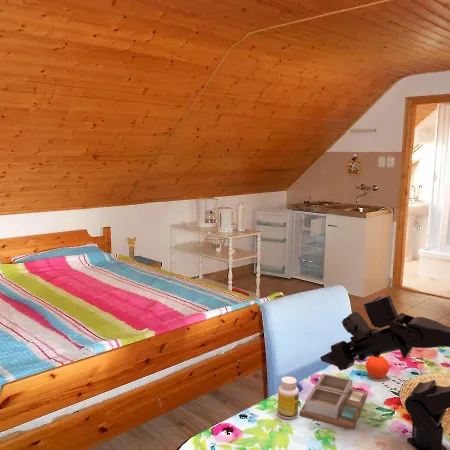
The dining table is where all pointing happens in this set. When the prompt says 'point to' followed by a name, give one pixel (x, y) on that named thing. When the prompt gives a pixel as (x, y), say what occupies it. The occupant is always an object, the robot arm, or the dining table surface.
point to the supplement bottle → (288, 398)
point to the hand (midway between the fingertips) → (330, 354)
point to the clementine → (377, 366)
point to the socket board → (348, 412)
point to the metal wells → (328, 396)
